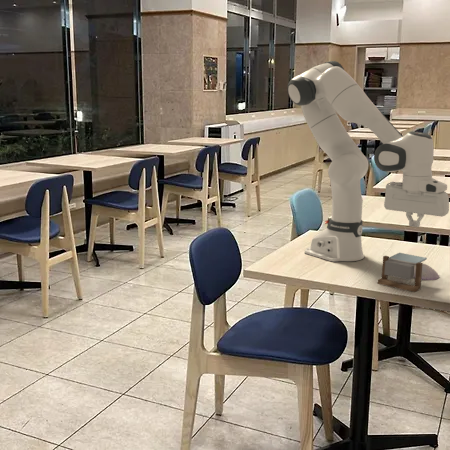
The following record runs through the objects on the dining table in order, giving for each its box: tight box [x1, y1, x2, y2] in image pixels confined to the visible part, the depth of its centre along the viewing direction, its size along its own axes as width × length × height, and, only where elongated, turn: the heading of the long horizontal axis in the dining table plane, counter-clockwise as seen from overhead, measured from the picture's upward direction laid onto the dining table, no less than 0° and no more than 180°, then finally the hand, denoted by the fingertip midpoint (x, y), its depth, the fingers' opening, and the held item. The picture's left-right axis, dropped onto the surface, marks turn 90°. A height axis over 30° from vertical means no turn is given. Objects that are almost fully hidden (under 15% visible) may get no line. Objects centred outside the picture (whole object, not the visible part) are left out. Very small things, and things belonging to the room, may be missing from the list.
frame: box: [377, 255, 424, 293], centre depth 184 cm, size 13×4×8 cm, turn 49°
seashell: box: [413, 263, 440, 281], centre depth 195 cm, size 10×6×10 cm
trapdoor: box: [384, 252, 427, 281], centre depth 186 cm, size 9×11×5 cm
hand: (414, 226), depth 185 cm, fingers closed
